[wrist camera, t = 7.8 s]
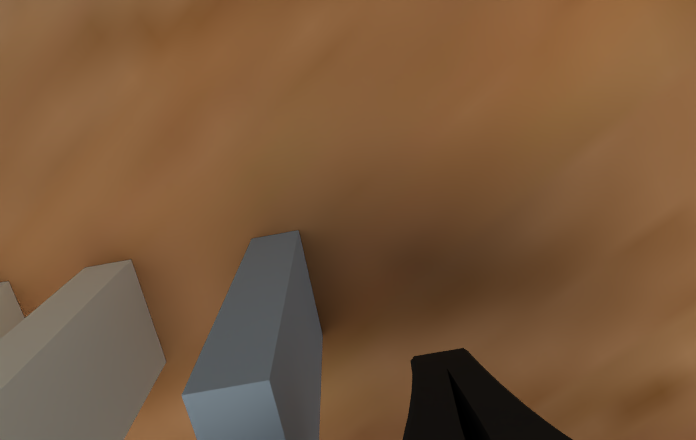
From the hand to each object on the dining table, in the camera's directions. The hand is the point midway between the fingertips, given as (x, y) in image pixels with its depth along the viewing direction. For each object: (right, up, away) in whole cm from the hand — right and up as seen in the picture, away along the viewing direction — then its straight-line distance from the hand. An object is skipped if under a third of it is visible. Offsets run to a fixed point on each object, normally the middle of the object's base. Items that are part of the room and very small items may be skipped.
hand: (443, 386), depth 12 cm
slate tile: (-5, +1, +7) cm, 9 cm away
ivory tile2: (-11, 0, +7) cm, 13 cm away
